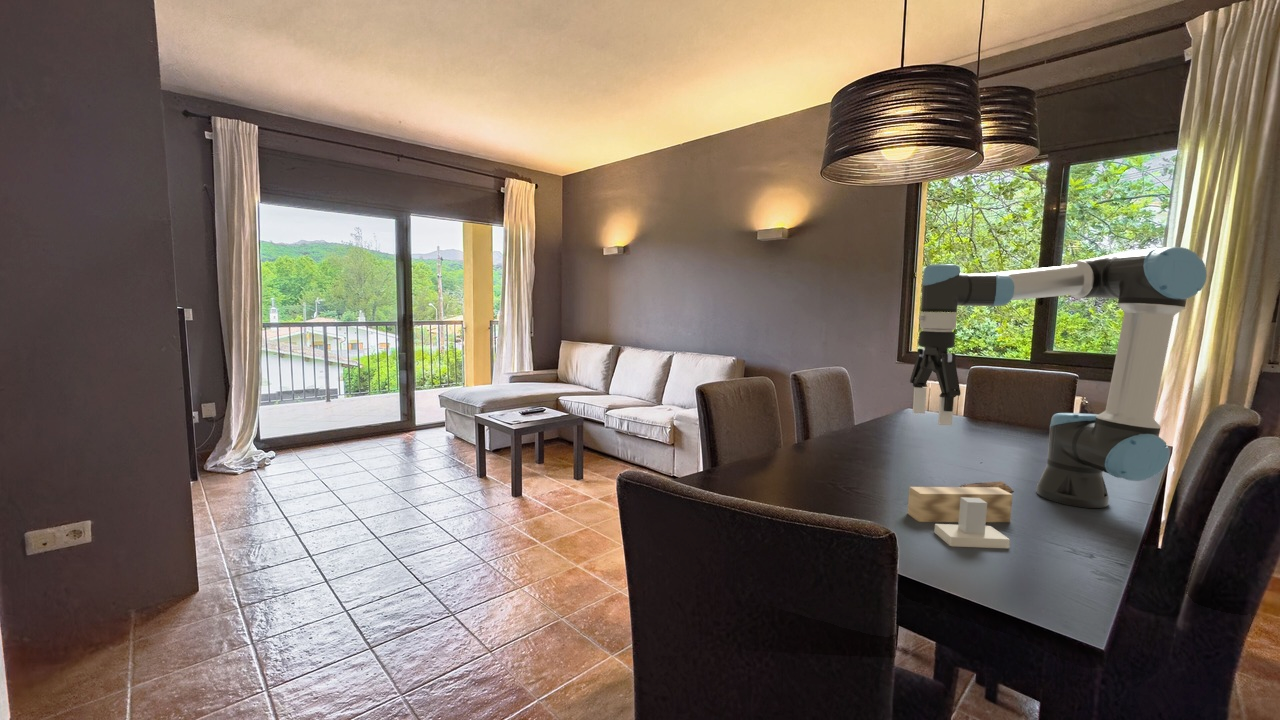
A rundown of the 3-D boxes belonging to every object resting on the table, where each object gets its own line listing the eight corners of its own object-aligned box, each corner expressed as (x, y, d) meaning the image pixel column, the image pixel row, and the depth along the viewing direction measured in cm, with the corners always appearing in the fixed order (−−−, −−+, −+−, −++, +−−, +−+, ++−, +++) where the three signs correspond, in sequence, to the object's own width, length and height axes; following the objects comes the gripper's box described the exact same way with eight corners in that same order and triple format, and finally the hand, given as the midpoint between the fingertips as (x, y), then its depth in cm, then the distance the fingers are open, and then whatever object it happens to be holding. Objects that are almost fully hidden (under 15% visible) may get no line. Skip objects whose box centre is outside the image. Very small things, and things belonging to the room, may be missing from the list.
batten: (995, 515, 134) (998, 487, 133) (1010, 523, 129) (1012, 494, 128) (907, 514, 133) (909, 486, 132) (918, 522, 128) (920, 493, 128)
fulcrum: (989, 534, 121) (992, 495, 121) (1009, 548, 115) (1012, 507, 114) (934, 532, 122) (937, 493, 121) (950, 546, 115) (953, 505, 114)
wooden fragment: (983, 507, 139) (984, 503, 139) (940, 494, 148) (940, 490, 148) (1028, 490, 153) (1028, 486, 153) (986, 479, 163) (986, 475, 162)
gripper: (899, 328, 142) (894, 408, 144) (946, 333, 117) (939, 430, 119) (929, 328, 141) (923, 409, 143) (983, 333, 116) (975, 431, 119)
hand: (931, 418), depth 131 cm, fingers open, 13 cm apart
